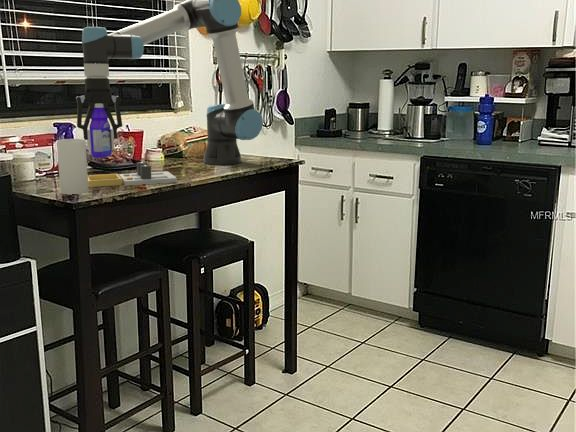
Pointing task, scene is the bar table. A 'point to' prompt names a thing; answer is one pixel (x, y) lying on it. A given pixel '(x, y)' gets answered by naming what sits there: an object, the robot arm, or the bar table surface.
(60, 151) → the light grey upright block
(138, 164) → the block
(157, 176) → the breaker board
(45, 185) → the bar table surface
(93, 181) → the yellow square tray
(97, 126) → the bottle
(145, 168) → the breaker
